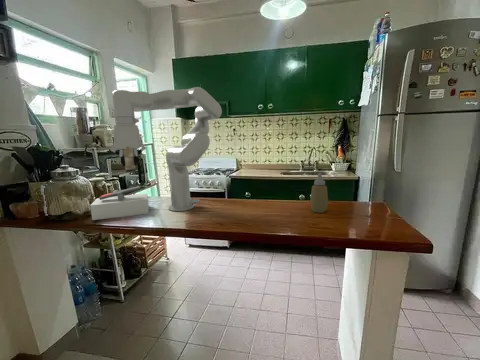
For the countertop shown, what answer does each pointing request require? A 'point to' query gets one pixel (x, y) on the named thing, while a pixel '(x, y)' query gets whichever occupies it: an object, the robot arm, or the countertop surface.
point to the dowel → (129, 159)
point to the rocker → (119, 192)
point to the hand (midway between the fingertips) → (130, 165)
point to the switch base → (119, 206)
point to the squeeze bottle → (319, 195)
